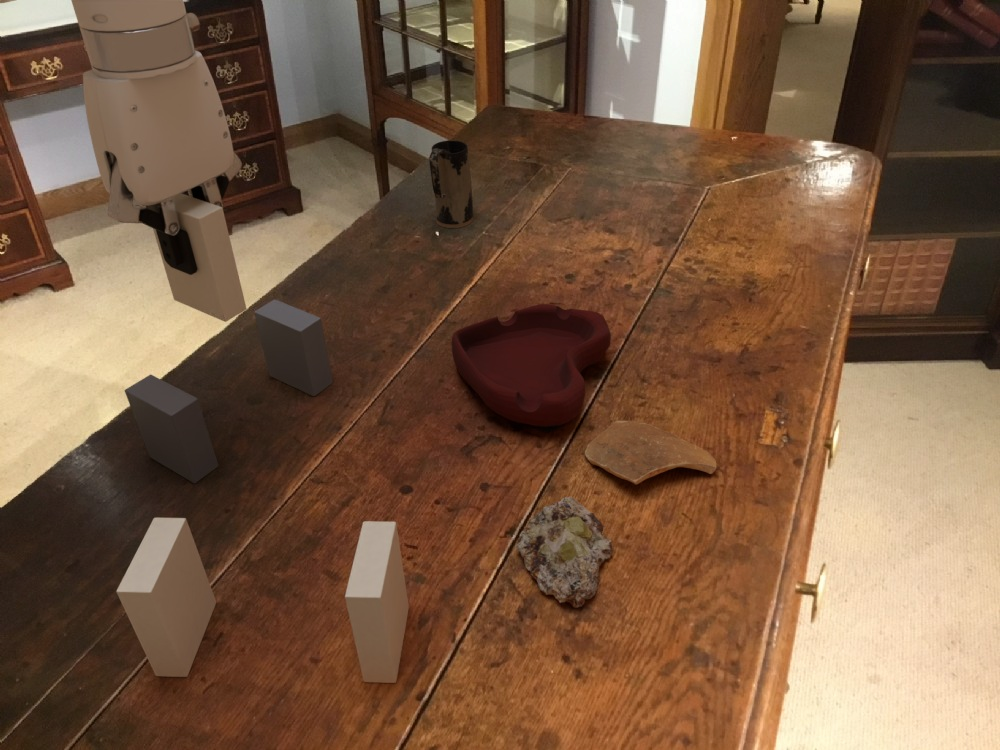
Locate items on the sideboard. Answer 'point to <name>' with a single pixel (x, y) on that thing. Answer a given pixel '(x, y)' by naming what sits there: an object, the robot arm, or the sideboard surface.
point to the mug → (451, 183)
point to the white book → (206, 262)
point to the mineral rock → (565, 551)
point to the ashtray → (532, 362)
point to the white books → (190, 601)
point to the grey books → (177, 415)
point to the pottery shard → (644, 452)
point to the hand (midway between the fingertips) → (198, 260)
